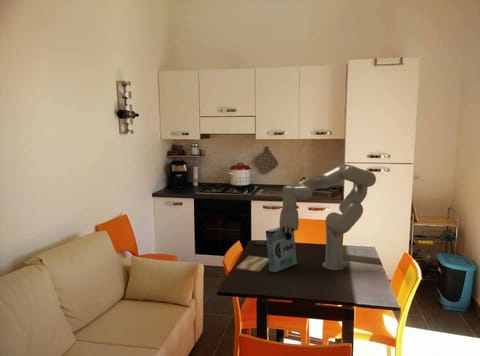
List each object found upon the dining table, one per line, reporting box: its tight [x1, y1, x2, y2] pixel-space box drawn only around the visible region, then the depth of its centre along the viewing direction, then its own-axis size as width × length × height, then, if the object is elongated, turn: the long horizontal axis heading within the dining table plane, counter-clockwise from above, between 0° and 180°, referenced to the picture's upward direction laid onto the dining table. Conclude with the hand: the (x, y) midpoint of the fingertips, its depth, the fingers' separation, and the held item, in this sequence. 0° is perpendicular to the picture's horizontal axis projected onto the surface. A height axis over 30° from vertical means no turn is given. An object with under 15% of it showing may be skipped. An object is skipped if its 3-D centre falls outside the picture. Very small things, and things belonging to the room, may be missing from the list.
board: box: [235, 255, 269, 273], centre depth 218 cm, size 14×22×1 cm, turn 158°
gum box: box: [265, 227, 298, 273], centre depth 211 cm, size 20×5×23 cm, turn 134°
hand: (288, 239), depth 208 cm, fingers closed
